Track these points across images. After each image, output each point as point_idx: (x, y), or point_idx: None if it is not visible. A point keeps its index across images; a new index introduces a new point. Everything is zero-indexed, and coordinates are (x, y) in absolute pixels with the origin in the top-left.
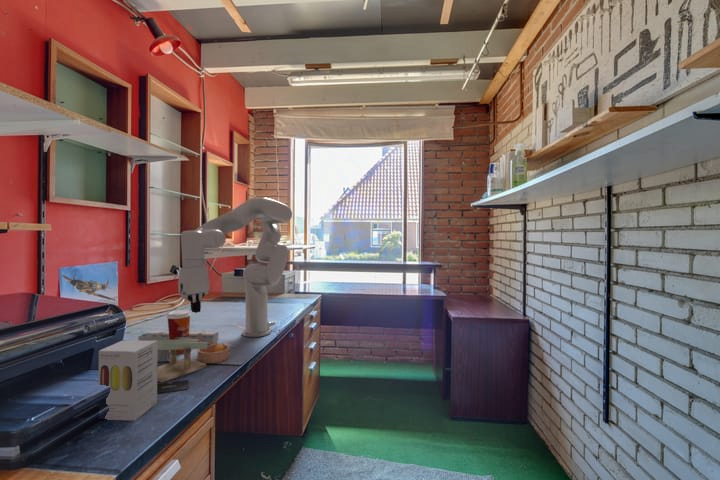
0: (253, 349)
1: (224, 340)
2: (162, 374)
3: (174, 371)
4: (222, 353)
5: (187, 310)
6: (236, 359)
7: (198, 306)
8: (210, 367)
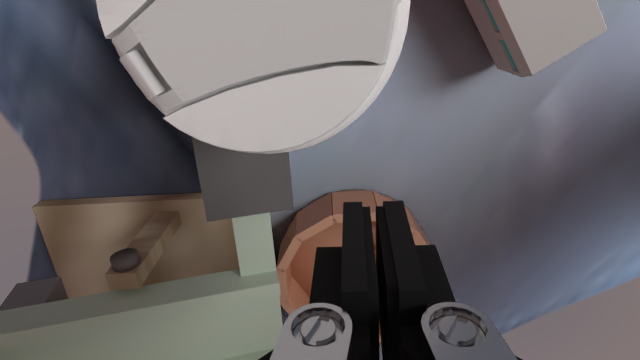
0: (544, 292)
1: (612, 24)
2: None
3: None
4: None
5: (389, 2)
6: None
7: (382, 346)
8: None
